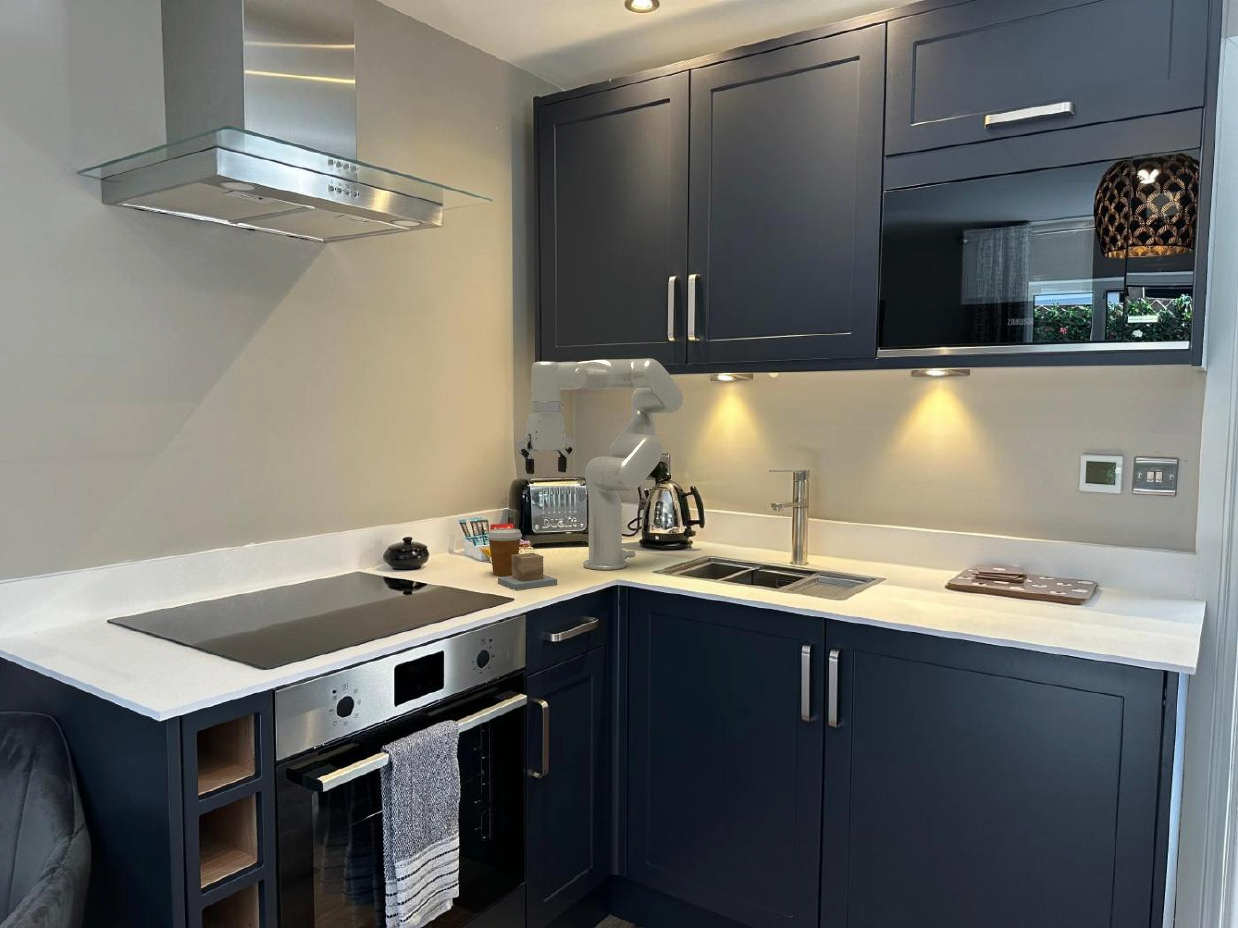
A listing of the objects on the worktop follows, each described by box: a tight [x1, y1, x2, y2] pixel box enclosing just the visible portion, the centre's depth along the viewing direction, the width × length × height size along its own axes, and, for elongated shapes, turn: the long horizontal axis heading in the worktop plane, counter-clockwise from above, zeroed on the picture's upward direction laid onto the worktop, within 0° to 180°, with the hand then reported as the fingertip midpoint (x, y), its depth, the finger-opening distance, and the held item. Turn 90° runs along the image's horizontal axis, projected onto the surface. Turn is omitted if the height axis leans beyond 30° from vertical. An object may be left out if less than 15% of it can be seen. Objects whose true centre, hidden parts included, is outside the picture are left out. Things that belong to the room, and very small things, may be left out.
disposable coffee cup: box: [486, 528, 523, 577], centre depth 229 cm, size 10×10×12 cm
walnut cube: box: [512, 552, 544, 582], centre depth 216 cm, size 6×6×6 cm
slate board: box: [497, 573, 558, 591], centre depth 216 cm, size 12×10×2 cm
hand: (546, 472), depth 222 cm, fingers open, 9 cm apart
